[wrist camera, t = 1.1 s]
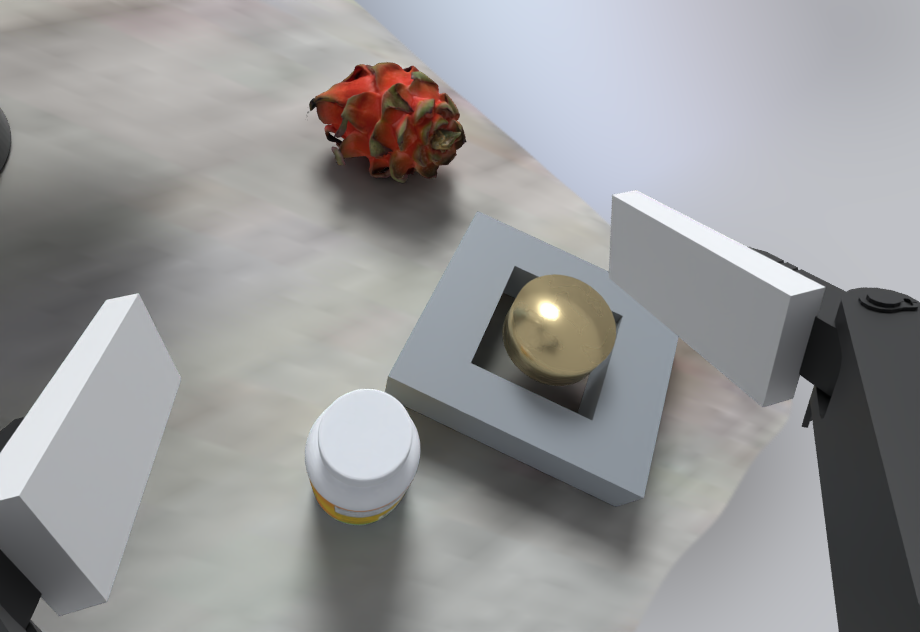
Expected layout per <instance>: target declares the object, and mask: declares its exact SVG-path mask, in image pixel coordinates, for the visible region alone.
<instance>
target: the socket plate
mask: <svg viewBox="0 0 920 632" xmlns="http://www.w3.org/2000/svg"><path fill="white" fill-rule="evenodd" d="M553 274H556V275H565V276H570V277H573V278H576V279H578V280H581V281H582V282H584V283H586V284H588V285H589V286H591V287H592V288H593V289H594V290H596V291H597V292H598V293H599V294H600V295H601V296H602V297H603V299H604V300H605V301H606V303H607V304H608V306H609V307H610V309H611V311H612V314H613V316H614V319H615V324H616V340H615V344H614V346H613V349H612V351H611V352H610V354H609V355H608V357H607V358H606V359H605V360H604V361H603V362H601V363H600V364H599V365H598V366H597V367H596V368H595V369H594V370H593V371H592V372H590V375H589V378H588V381H587V384H586V388H585V391H584V394H583V397H582V401H581V404H580V407H579V410H578V413H575V412H573V411H571V410H569V409H567V408H565V407H563V406H561V405H559V404H556V403H554V402H552V401H550V400H548V399H546V398H544V397H542V396H539V395H537V394H535V393H533V392H531V391H529V390H527V389H525V388H523V387H520V386H518V385H516V384H514V383H512V382H510V381H508V380H506V379H504V378H501V377H499V376H497V375H495V374H493V373H491V372H489V371H487V370H485V369H482V368H480V367H478V366H476V365H474V364H472V363H471V361H472V359H473V357H474V355H475V353H476V350H477V348H478V346H479V344H480V341H481V339H482V337H483V335H484V333H485V330H486V328H487V326H488V324H489V322H490V319H491V317H492V315H493V313H494V311H495V308H496V306H497V304H498V302H499V299H500V297H501V295H502V293H505V294H507V295H510V296H512V297H514V298H516V297H517V295H518V294H519V292H520V291H521V289H522V288H523V287H524V286H525V285H526V284H527V283H529V282H530V281H531V280H533V279H535V278H538V277H541V276H545V275H553ZM677 341H678V336H677V335H676V334H675V333H674V332H672V331H671V330H670V329H669V328H668V327H667V326H665V325H664V324H663V323H662V322H661V321H659V320H658V319H657V318H656V317H655V316H653V315H652V314H651V313H650V312H649V311H648V310H646V309H645V308H644V307H643V306H642V305H640V304H639V303H638V302H637V301H636V300H634V299H633V298H632V297H631V296H630V295H629V294H627V293H626V292H625V291H624V290H623V289H621V288H620V287H619V286H618V285H617V284H615V283H614V282H613V281H612V280H611V279H609V272H608V271H606V270H604V269H602V268H600V267H598V266H595V265H593V264H591V263H589V262H587V261H585V260H582V259H580V258H578V257H576V256H574V255H572V254H570V253H567V252H565V251H563V250H561V249H559V248H557V247H554V246H552V245H550V244H548V243H546V242H544V241H541V240H539V239H537V238H535V237H533V236H531V235H528V234H526V233H524V232H522V231H520V230H518V229H516V228H513V227H511V226H509V225H507V224H505V223H503V222H500V221H498V220H496V219H494V218H492V217H490V216H487V215H485V214H483V213H481V212H479V211H477V213H476V214H475V216H474V218H473V220H472V222H471V224H470V226H469V227H468V229H467V231H466V233H465V235H464V237H463V238H462V240H461V242H460V244H459V246H458V248H457V250H456V251H455V253H454V255H453V257H452V259H451V261H450V263H449V264H448V266H447V268H446V270H445V272H444V274H443V276H442V277H441V279H440V281H439V283H438V285H437V287H436V288H435V290H434V292H433V294H432V296H431V298H430V300H429V301H428V303H427V305H426V307H425V309H424V311H423V313H422V314H421V316H420V318H419V320H418V322H417V324H416V325H415V327H414V329H413V331H412V333H411V335H410V337H409V338H408V340H407V342H406V344H405V346H404V348H403V350H402V351H401V353H400V355H399V357H398V359H397V361H396V363H395V364H394V366H393V368H392V370H391V372H390V374H389V375H388V379H387V385H386V390H385V393H387V394H389V395H391V396H393V397H394V398H396V399H397V400H398V401H399V402H400V403H401V404H402V405H404V406H406V407H408V408H410V409H412V410H414V411H416V412H418V413H420V414H422V415H424V416H427V417H429V418H431V419H433V420H435V421H437V422H439V423H441V424H443V425H445V426H448V427H450V428H452V429H454V430H456V431H458V432H460V433H462V434H464V435H466V436H468V437H471V438H473V439H475V440H477V441H479V442H481V443H483V444H485V445H487V446H489V447H491V448H494V449H496V450H498V451H500V452H502V453H504V454H506V455H508V456H510V457H512V458H515V459H517V460H519V461H521V462H523V463H525V464H527V465H529V466H531V467H533V468H535V469H538V470H540V471H542V472H544V473H546V474H548V475H550V476H552V477H554V478H556V479H558V480H561V481H563V482H565V483H567V484H569V485H571V486H573V487H575V488H577V489H579V490H581V491H584V492H586V493H588V494H590V495H592V496H594V497H596V498H598V499H600V500H602V501H605V502H607V503H609V504H611V505H613V506H615V507H617V506H620V505H623V504H626V503H630V502H633V501H636V500H639V499H642V498H644V494H645V490H646V485H647V480H648V476H649V471H650V466H651V462H652V457H653V453H654V448H655V443H656V439H657V434H658V429H659V425H660V420H661V415H662V411H663V406H664V402H665V397H666V392H667V388H668V383H669V378H670V374H671V369H672V364H673V360H674V355H675V351H676V346H677Z"/></svg>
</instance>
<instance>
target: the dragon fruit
mask: <svg viewBox="0 0 920 632" xmlns="http://www.w3.org/2000/svg"><path fill="white" fill-rule="evenodd" d="M309 107H310V111H311V110H313V109H314V108H315V107H317V114H318V117H319V119H320V120H321V121H322V122H323V123H324V124H332V125H326V126H325V134H326V137H327V139H328V140H329V141H332V142H336V145H337V146H338V147H339V150H338V149H337V148H336V147H332V152H333V153H334V155H335V159H336V161H337V164H338V165H346V164H345V161H344V159H345V158H352V157H359V156H366V157H367V158H368V159H369V162H370V167H369V172H370V175H371V176H373V177H374V178H379V177H382V178H386V177H389V176H390V175H391V177H392V178H393V179H394V180H395V181H397V182H400V183H405V182H406V180H407V178H408V175H409V174H412V175H413V173H414V172H415V171H417V172H418V173H419V174H420V175H421V176H423V177H426V178H428V179H432V178H436V177H437V169H438V167H439V166H440V165H448V164H449V163H450V162H451V161H452V160H453V159H454V157H455V156H456V155H457V154H456V150H458V149H459V148H460V147H462V145H463V144H464V142H466V139H465V134H464V130H463V127H462V125H461V124H460V123H459V122H458V121H457V120H458V119H459V117H460V114H459V112H458V109H457V107H456V105H455V104H454V102H453V101H452V99H451V98H450V97H449V96H448V95H447V94H446V93H442V94H439V89H438V85H437V84H436V83H435V82H434V81H433V80H431V79H430V78H429V77H428V76H426V75H425V74H424V73H422V72H419V70H418V69H417V68H416V67H414V66H410V67H409V68H405V69H402V68H401V67H400V66H399V65H397V64H395V63H390V62H386V63H378V64H376V65H375V66H370V65H364V64H360V65H357V66H355V69H354V71H353V72H352V73H351V74H350V75H349V76H348V77H347V78H346V79H344V80H343V81H342V82H341V83H338V84H335V85H333V86H332V87H331V88H330V89H329V90H328V91H326V92H324V93H322V94H320V95H318V96H316V97H315V98H313V99H312V100H311V101H310V104H309ZM308 113H309V112H308ZM307 117H308V116H307ZM307 120H308V119H307ZM329 132H333V133H335V135H334V136H332V135H331V134H330V133H329ZM335 137H337V138H339V137H342V138H343V139H344V140H343V141H341V140H339V139H337V138H335ZM386 167H389V169H388V170H387V171H385V172H383V173H379V172H380V171H382V170H383V169H385V168H386ZM403 175H404V176H403ZM402 176H403V178H402Z"/></svg>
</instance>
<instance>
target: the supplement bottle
mask: <svg viewBox="0 0 920 632" xmlns="http://www.w3.org/2000/svg"><path fill="white" fill-rule="evenodd" d="M419 460H420V439H419V435H418V432H417V429H416V427H415V424H414V423H413V421H412V419H411V418H410V416H409V414H408V412H407V411H406V409H405V408H404V406H403V405H402V404H401V403H400V402H399V401H398V400H397V399H396V398H394V397H393V396H391V395H389V394H387V393H385V392H383V391H379V390H375V389H359V390H355V391H351V392H348V393H346V394H344V395H342V396H341V397H339V398H338V399H336V400H335V401H334V402H333V403H332V404H331V405H330V406H329V407H328V408H327V409H326V410H325V411H324V412H323V413H322V414H321V415H320V416H319V417H318V419H317V420H316V421H315V423H314V424H313V426H312V428H311V430H310V432H309V435H308V438H307V442H306V447H305V464H306V470H307V473H308V476H309V480H310V483H311V486H312V489H313V492H314V494H315V497H316V499H317V501H318V503H319V504H320V506H321V507H322V509H323V510H324V511H325V512H326V513H327V514H328V515H329V516H331V517H332V518H334V519H335V520H337V521H340V522H342V523H345V524H350V525H366V524H370V523H374V522H376V521H378V520H380V519H382V518H384V517H385V516H387V515H388V514H389V513H390V512H391V511H392V510H394V509H395V507H396V506H397V505H398V504H399V502H400V501H401V499H402V498H403V496H404V494H405V492H406V490H407V489H408V487H409V485H410V484H411V482H412V480H413V478H414V476H415V474H416V472H417V468H418V465H419Z"/></svg>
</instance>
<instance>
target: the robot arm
mask: <svg viewBox="0 0 920 632" xmlns="http://www.w3.org/2000/svg"><path fill="white" fill-rule="evenodd" d="M10 144H11V132H10V126H9V123H8V120H7V118H6V116H5V114H4V113H3V111H2V110H1V108H0V170H1V169H2V167H3V165H4V163H5V161H6V159H7V156H8V153H9V150H10ZM609 279H611V280H612V281H613V282H614V283H615V284H617V285H618V286H619V287H620V288H621V289H623V290H624V291H625V292H626V293H627V294H629V295H630V296H631V297H632V298H633V299H634V300H636V301H637V302H638V303H639V304H640V305H642V306H643V307H644V308H645V309H646V310H648V311H649V312H650V313H651V314H652V315H653V316H655V317H656V318H657V319H658V320H659V321H661V322H662V323H663V324H664V325H665V326H667V327H668V328H669V329H670V330H671V331H672V332H674V333H675V334H676V335H677V336H678V337H680V338H681V339H682V340H683V341H684V342H686V343H687V344H688V345H689V346H690V347H691V348H693V349H694V350H695V351H696V352H697V353H699V354H700V355H701V356H702V357H703V358H705V359H706V360H707V361H708V362H709V363H711V364H712V365H713V366H714V367H715V368H716V369H718V370H719V371H720V372H721V373H722V374H724V375H725V376H726V377H727V378H728V379H730V380H731V381H732V382H733V383H734V384H735V385H737V386H738V387H739V388H740V389H741V390H743V391H744V392H745V393H746V394H747V395H749V396H750V397H751V398H752V399H753V400H754V401H756V402H757V403H758V404H759V405H760V406H762V407H766V406H769V405H773V404H776V403H779V402H783V401H786V400H789V399H793V397H794V394H795V390H796V387H797V384H798V380H799V377H800V375H801V376H802V377H804V378H805V379H806V380H808V381H809V382H811V383H812V384H813V385H814V388H813V391H812V394H811V397H810V400H809V404H808V407H807V410H806V414H805V416H804V420H803V423H802V427H808V425H809V422H810V421H812V420H813V428H814V436H815V444H816V451H817V459H818V468H819V476H820V484H821V491H822V499H823V508H824V516H825V524H826V531H827V540H828V548H829V556H830V564H831V572H832V580H833V588H834V596H835V604H836V612H837V620H838V628H839V632H920V302H919V301H917V300H915V299H913V298H911V297H909V296H908V295H905V294H902V293H898V292H895V291H892V290H886V289H880V288H857V289H851V290H849V291H847V292H845V291H844V290H842V289H840V288H838V287H836V286H834V285H831V284H830V283H828V282H826V281H824V280H821V279H820V278H818V277H815V276H814V275H812V274H810V273H808V272H806V271H804V270H798V267H796V266H794V265H792V264H789V263H788V262H787V263H784V261H783V260H782V259H779V258H778V257H776V256H774V255H772V254H770V253H768V252H765V251H761V250H758V249H754V248H750V247H746V246H744V245H742V244H740V243H738V242H736V241H734V240H732V239H730V238H729V237H727V236H724V235H723V234H720V233H719V232H717V231H715V230H713V229H711V228H709V227H707V226H705V225H703V224H701V223H699V222H697V221H695V220H693V219H691V218H689V217H687V216H686V215H684V214H681V213H679V212H678V211H676V210H674V209H672V208H670V207H668V206H666V205H664V204H662V203H660V202H658V201H656V200H654V199H652V198H650V197H648V196H646V195H644V194H643V193H640V192H639V191H637V190H634V191H629V192H624V193H619V194H615V195H612V214H611V236H610V260H609ZM180 382H181V377H180V375H179V373H178V371H177V369H176V367H175V365H174V363H173V361H172V359H171V357H170V355H169V353H168V351H167V349H166V347H165V345H164V343H163V341H162V339H161V337H160V335H159V333H158V331H157V329H156V327H155V325H154V323H153V321H152V319H151V317H150V315H149V313H148V311H147V309H146V307H145V305H144V303H143V301H142V299H141V297H140V295H139V293H137V294H132V295H127V296H123V297H118V298H113V299H108V300H106V301H105V302H104V304H103V305H102V307H101V308H100V310H99V311H98V313H97V314H96V315H95V317H94V318H93V320H92V321H91V323H90V324H89V326H88V327H87V328H86V330H85V331H84V333H83V334H82V336H81V337H80V339H79V340H78V341H77V343H76V344H75V346H74V347H73V349H72V350H71V352H70V353H69V354H68V356H67V357H66V359H65V360H64V362H63V363H62V365H61V366H60V367H59V369H58V370H57V372H56V373H55V375H54V376H53V378H52V379H51V380H50V382H49V383H48V385H47V386H46V388H45V389H44V391H43V392H42V393H41V395H40V396H39V398H38V399H37V401H36V402H35V403H34V405H33V406H32V408H31V409H30V411H29V412H28V414H27V415H26V416H25V417H23V418H19V419H15V420H14V421H13V422H11V423H10V424H9V425H8V426H7V427H5V428H4V429H3V430H2V431H0V632H42V631H41V630H40V629H39V628H38V627H37V626H36V625H35V624H34V623H33V622H32V621H31V620H30V619H31V617H32V615H33V613H34V610H35V608H36V606H37V604H38V602H39V599H40V597H42V598H43V599H44V601H45V602H46V603H47V604H48V605H49V606H50V607H51V608H52V609H53V610H54V611H55V612H56V613H57V614H58V615H59V616H61V615H65V614H68V613H71V612H75V611H78V610H82V609H85V608H88V607H92V606H95V605H98V604H102V603H105V602H107V601H108V598H109V595H110V592H111V589H112V586H113V583H114V580H115V577H116V574H117V571H118V568H119V565H120V562H121V559H122V556H123V553H124V550H125V547H126V544H127V541H128V538H129V535H130V532H131V529H132V526H133V523H134V520H135V517H136V514H137V511H138V508H139V505H140V502H141V499H142V496H143V493H144V490H145V487H146V484H147V481H148V478H149V475H150V472H151V469H152V466H153V463H154V460H155V457H156V454H157V451H158V448H159V445H160V442H161V439H162V436H163V433H164V430H165V427H166V424H167V421H168V418H169V415H170V412H171V409H172V406H173V403H174V400H175V397H176V394H177V391H178V388H179V385H180Z"/></svg>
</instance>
